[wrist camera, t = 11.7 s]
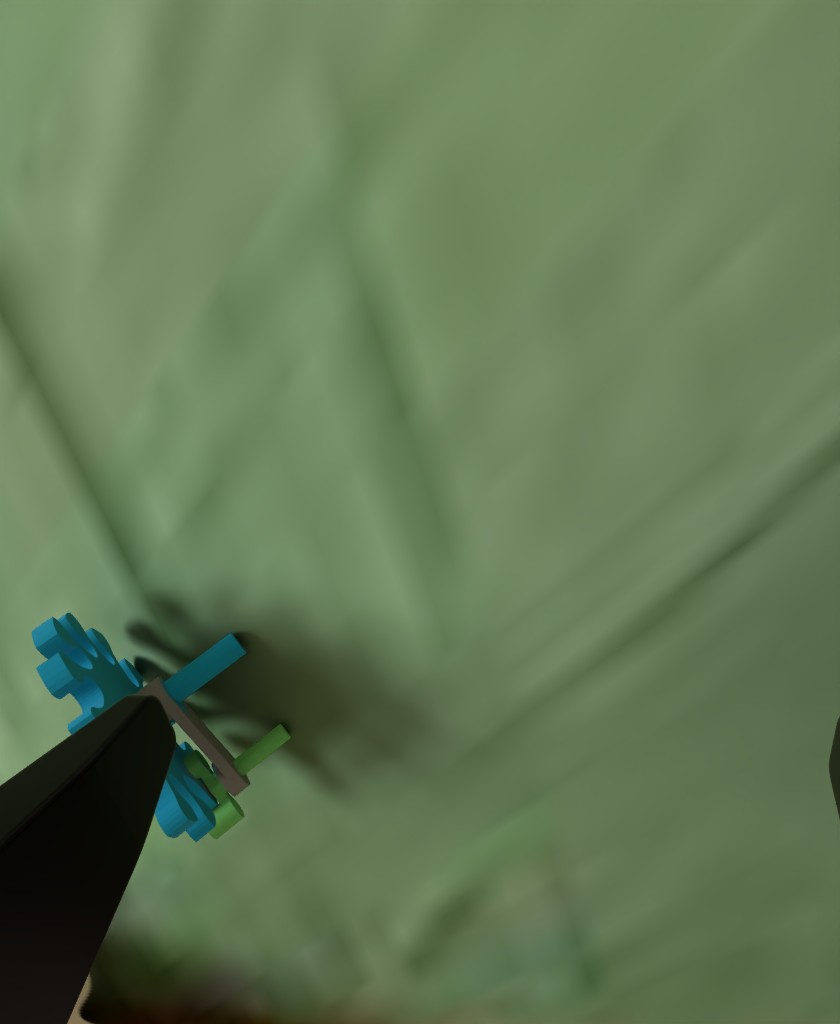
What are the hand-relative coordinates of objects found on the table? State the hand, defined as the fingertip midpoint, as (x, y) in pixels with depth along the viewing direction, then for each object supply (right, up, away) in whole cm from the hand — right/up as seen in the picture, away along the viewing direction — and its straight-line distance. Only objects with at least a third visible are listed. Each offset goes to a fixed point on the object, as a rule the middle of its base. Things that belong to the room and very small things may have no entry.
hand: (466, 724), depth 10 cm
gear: (-10, -4, +21) cm, 24 cm away
